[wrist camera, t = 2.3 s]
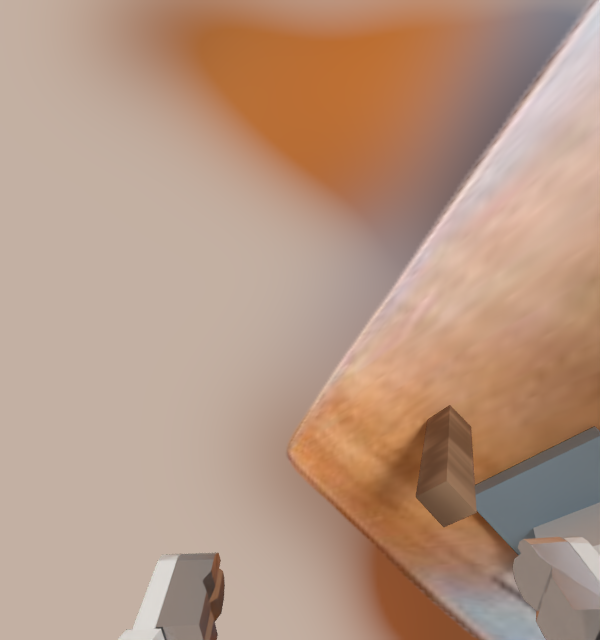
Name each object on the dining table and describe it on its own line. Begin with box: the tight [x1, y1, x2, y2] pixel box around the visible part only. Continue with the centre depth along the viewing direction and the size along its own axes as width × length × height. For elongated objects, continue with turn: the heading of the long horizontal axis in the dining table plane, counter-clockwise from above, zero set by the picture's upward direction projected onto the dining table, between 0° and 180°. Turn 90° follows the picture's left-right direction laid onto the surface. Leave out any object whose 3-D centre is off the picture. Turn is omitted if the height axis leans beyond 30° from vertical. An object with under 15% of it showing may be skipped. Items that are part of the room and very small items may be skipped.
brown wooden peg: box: [416, 405, 477, 527], centre depth 31 cm, size 3×3×12 cm
